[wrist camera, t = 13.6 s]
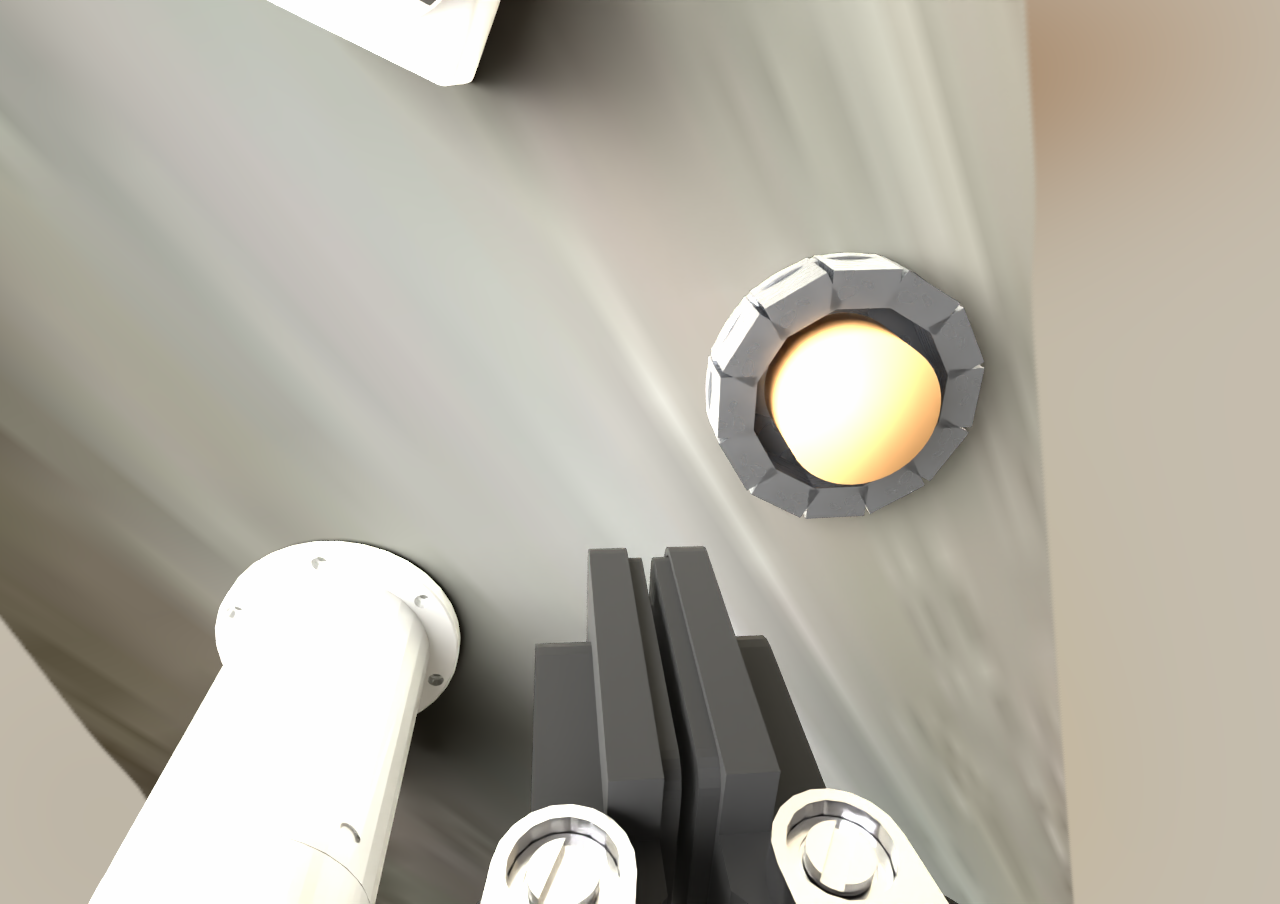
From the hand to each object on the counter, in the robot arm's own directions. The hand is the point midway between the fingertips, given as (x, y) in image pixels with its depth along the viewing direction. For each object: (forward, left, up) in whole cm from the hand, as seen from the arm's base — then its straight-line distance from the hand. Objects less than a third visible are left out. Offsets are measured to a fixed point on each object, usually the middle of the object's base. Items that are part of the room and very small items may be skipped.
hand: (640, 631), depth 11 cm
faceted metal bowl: (-6, -12, -26) cm, 29 cm away
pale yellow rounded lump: (-6, -12, -25) cm, 28 cm away
